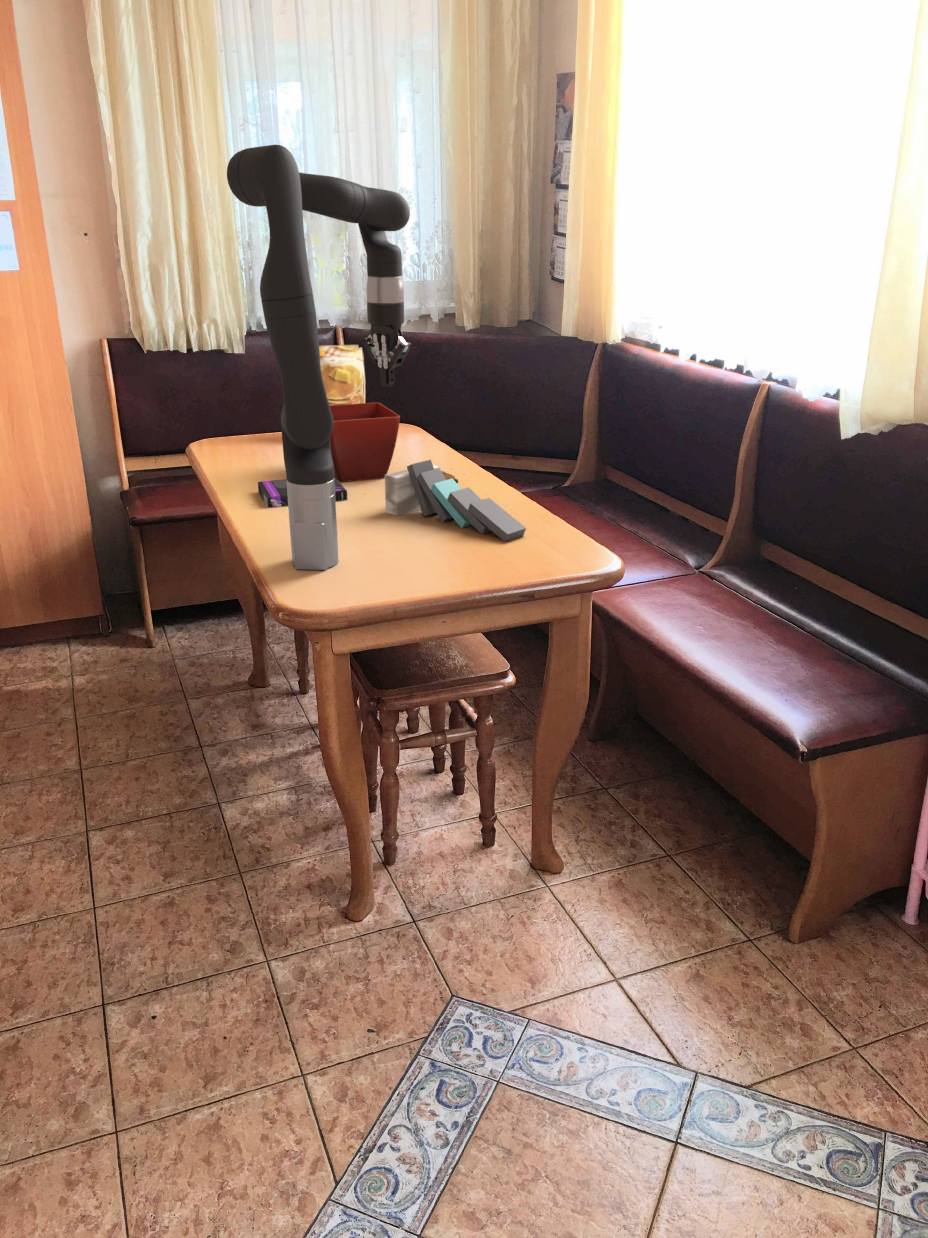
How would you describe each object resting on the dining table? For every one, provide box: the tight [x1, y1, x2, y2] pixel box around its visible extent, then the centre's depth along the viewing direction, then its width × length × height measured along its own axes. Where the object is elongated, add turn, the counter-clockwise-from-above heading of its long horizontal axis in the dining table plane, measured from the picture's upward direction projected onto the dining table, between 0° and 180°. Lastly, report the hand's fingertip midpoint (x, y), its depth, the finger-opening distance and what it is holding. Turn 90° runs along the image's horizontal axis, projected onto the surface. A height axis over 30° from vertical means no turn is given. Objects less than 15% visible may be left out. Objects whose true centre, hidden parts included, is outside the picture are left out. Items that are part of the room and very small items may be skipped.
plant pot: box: [329, 402, 401, 483], centre depth 252 cm, size 19×19×17 cm
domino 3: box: [430, 478, 473, 529], centre depth 218 cm, size 2×6×12 cm
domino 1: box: [406, 459, 437, 517], centre depth 223 cm, size 2×6×12 cm, turn 136°
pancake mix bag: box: [319, 344, 366, 405], centre depth 285 cm, size 7×19×28 cm, turn 111°
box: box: [257, 476, 348, 509], centre depth 237 cm, size 14×4×20 cm
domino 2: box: [417, 467, 454, 523], centre depth 221 cm, size 2×6×12 cm
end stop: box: [384, 464, 441, 517], centre depth 227 cm, size 4×14×9 cm, turn 136°
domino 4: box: [447, 486, 492, 535], centre depth 215 cm, size 2×6×12 cm
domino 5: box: [468, 497, 527, 542], centre depth 211 cm, size 2×6×12 cm
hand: (387, 385), depth 203 cm, fingers closed
